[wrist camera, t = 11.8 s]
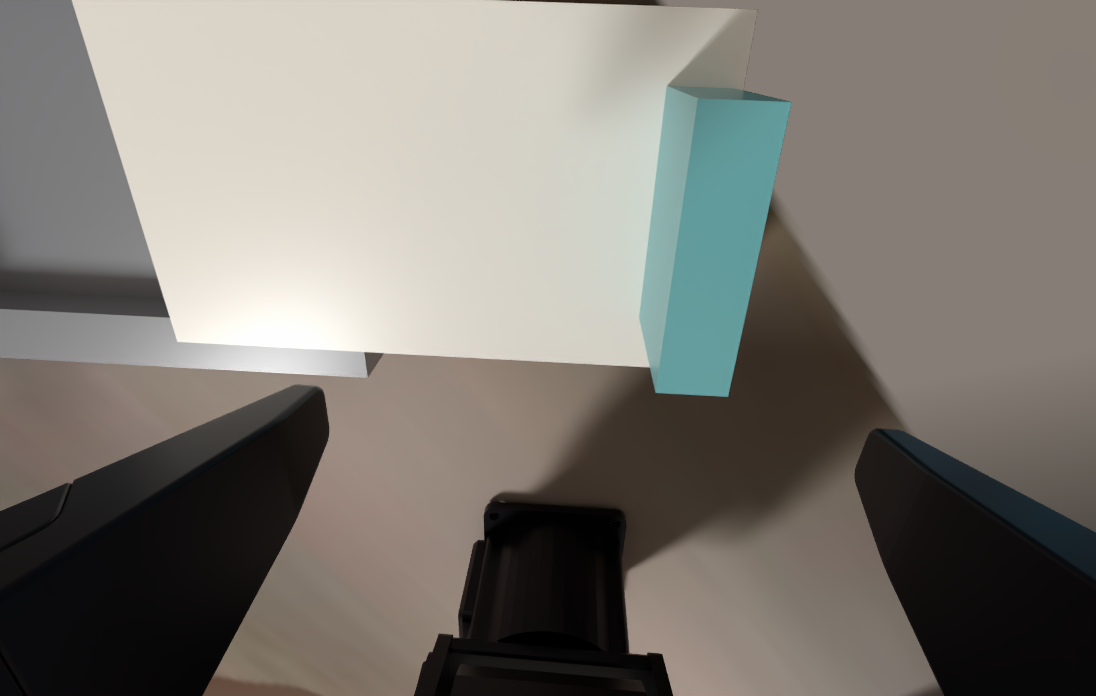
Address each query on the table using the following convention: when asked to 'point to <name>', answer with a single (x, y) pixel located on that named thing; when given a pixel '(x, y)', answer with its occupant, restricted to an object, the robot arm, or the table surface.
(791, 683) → the table surface
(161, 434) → the table surface
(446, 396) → the table surface
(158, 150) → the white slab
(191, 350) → the filter housing
